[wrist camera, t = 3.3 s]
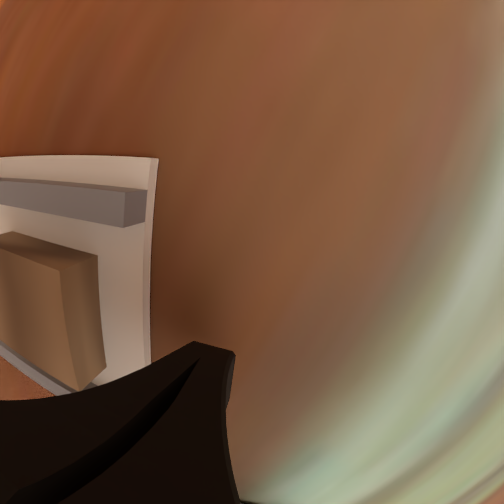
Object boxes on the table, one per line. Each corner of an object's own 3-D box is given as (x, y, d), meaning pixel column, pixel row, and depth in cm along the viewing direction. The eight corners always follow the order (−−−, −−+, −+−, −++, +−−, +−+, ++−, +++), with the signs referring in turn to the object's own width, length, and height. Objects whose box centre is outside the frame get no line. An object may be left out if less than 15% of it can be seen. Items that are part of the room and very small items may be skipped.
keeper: (97, 255, 10) (59, 270, 8) (106, 367, 11) (79, 392, 9) (12, 231, 11) (-20, 239, 9) (24, 323, 12) (-2, 338, 10)
